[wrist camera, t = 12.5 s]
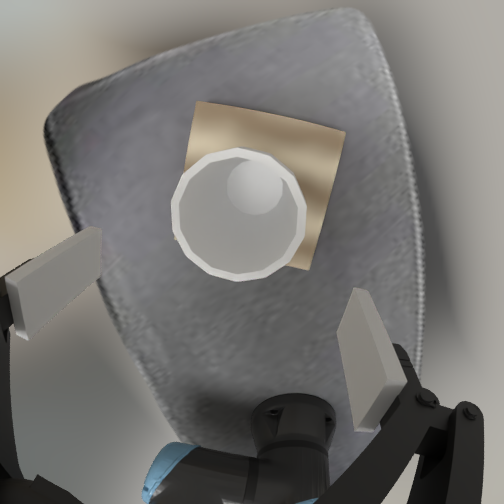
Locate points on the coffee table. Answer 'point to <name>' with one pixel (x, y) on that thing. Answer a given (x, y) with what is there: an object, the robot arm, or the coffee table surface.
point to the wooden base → (282, 147)
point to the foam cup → (239, 214)
